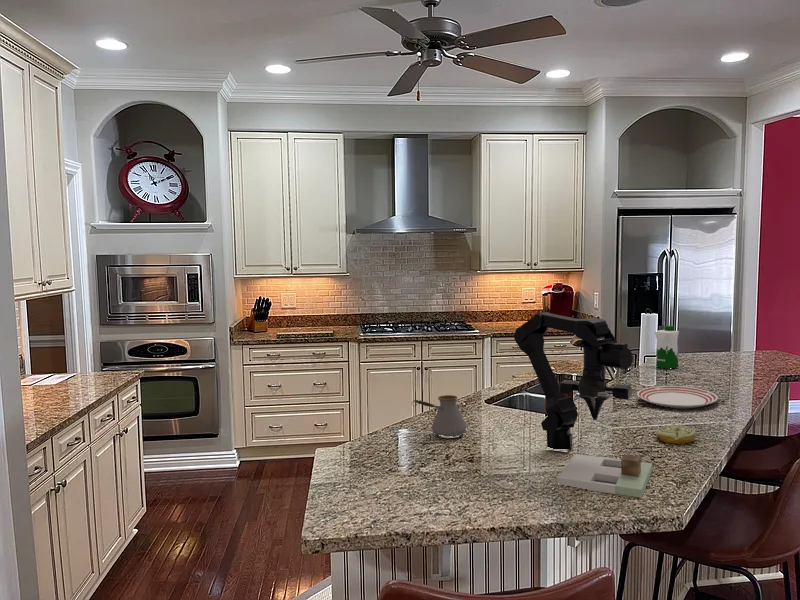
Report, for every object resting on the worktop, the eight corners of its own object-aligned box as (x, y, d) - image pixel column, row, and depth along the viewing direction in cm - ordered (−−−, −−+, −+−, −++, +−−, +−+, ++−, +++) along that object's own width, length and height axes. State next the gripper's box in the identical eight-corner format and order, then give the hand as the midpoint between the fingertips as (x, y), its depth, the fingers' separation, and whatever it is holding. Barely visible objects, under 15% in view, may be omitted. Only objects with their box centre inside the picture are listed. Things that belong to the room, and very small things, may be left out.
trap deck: (557, 485, 150) (557, 477, 150) (575, 461, 166) (575, 454, 166) (641, 497, 140) (641, 489, 140) (652, 470, 156) (652, 463, 156)
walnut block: (621, 474, 149) (621, 459, 149) (624, 469, 153) (623, 454, 153) (638, 477, 147) (638, 461, 147) (640, 471, 151) (640, 456, 151)
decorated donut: (649, 439, 183) (648, 427, 182) (672, 432, 188) (672, 421, 187) (679, 447, 173) (678, 435, 173) (702, 440, 178) (702, 428, 178)
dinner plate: (728, 412, 206) (728, 403, 206) (645, 412, 212) (645, 403, 212) (705, 394, 233) (704, 385, 233) (631, 394, 239) (631, 386, 239)
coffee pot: (448, 428, 204) (446, 385, 203) (474, 434, 196) (472, 390, 195) (403, 443, 190) (400, 397, 189) (428, 451, 181) (426, 403, 180)
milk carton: (681, 368, 282) (680, 326, 281) (668, 370, 279) (667, 328, 277) (666, 365, 290) (665, 325, 289) (652, 367, 287) (652, 326, 285)
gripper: (552, 367, 162) (553, 423, 163) (623, 372, 152) (624, 432, 153) (564, 360, 171) (565, 413, 173) (632, 364, 161) (632, 420, 163)
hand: (595, 419), depth 165 cm, fingers closed
